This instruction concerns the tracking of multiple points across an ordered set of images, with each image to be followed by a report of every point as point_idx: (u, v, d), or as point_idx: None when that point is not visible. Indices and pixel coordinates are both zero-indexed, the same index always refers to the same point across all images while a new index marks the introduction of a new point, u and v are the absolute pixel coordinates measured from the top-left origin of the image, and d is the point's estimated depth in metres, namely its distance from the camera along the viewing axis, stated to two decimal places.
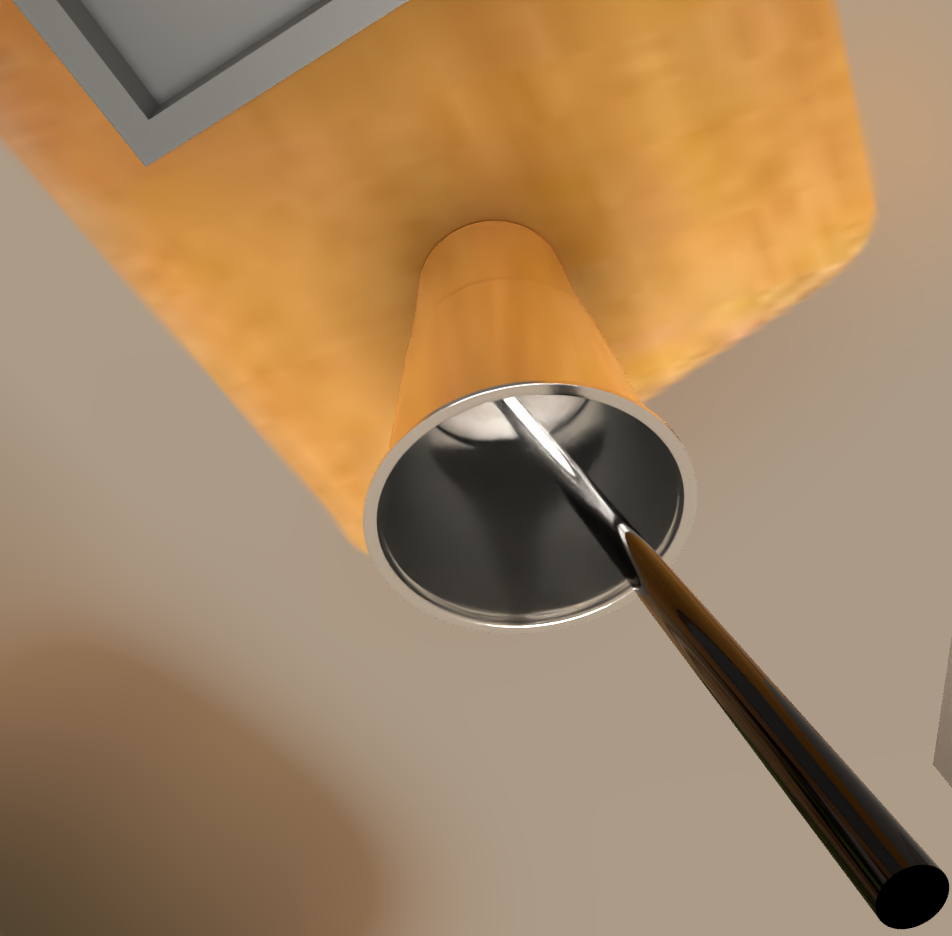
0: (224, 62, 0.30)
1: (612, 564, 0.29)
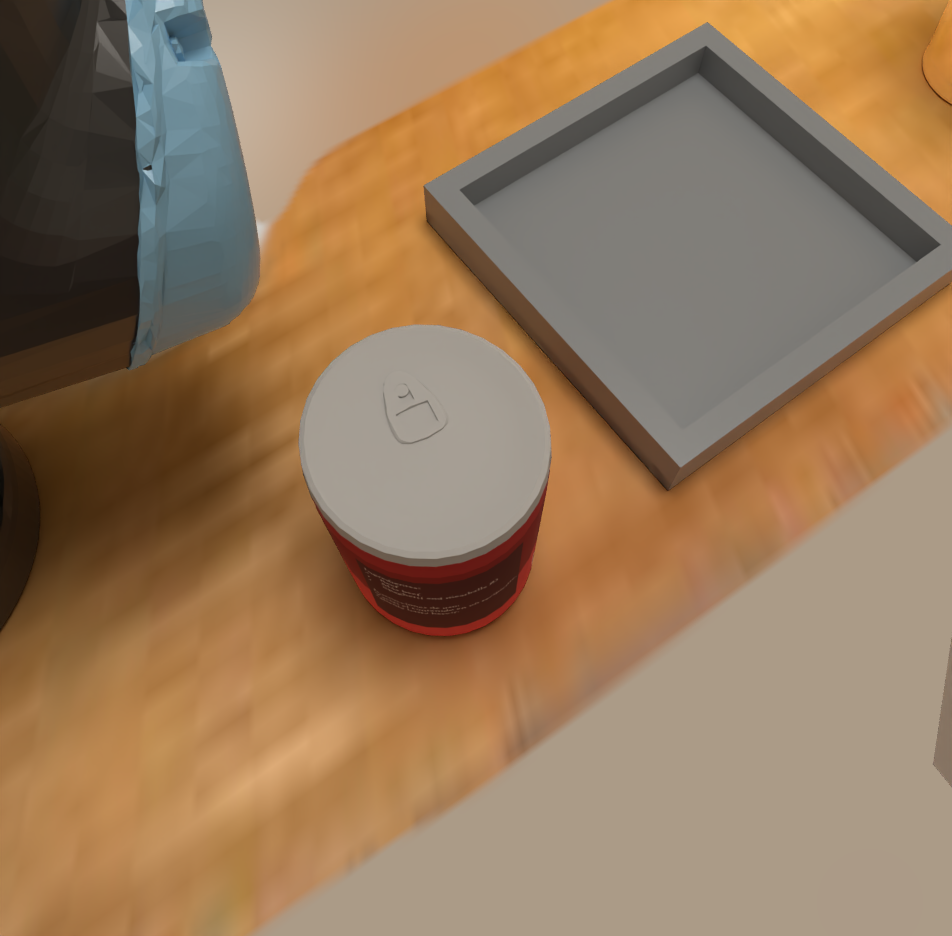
0: (875, 226, 0.41)
1: None
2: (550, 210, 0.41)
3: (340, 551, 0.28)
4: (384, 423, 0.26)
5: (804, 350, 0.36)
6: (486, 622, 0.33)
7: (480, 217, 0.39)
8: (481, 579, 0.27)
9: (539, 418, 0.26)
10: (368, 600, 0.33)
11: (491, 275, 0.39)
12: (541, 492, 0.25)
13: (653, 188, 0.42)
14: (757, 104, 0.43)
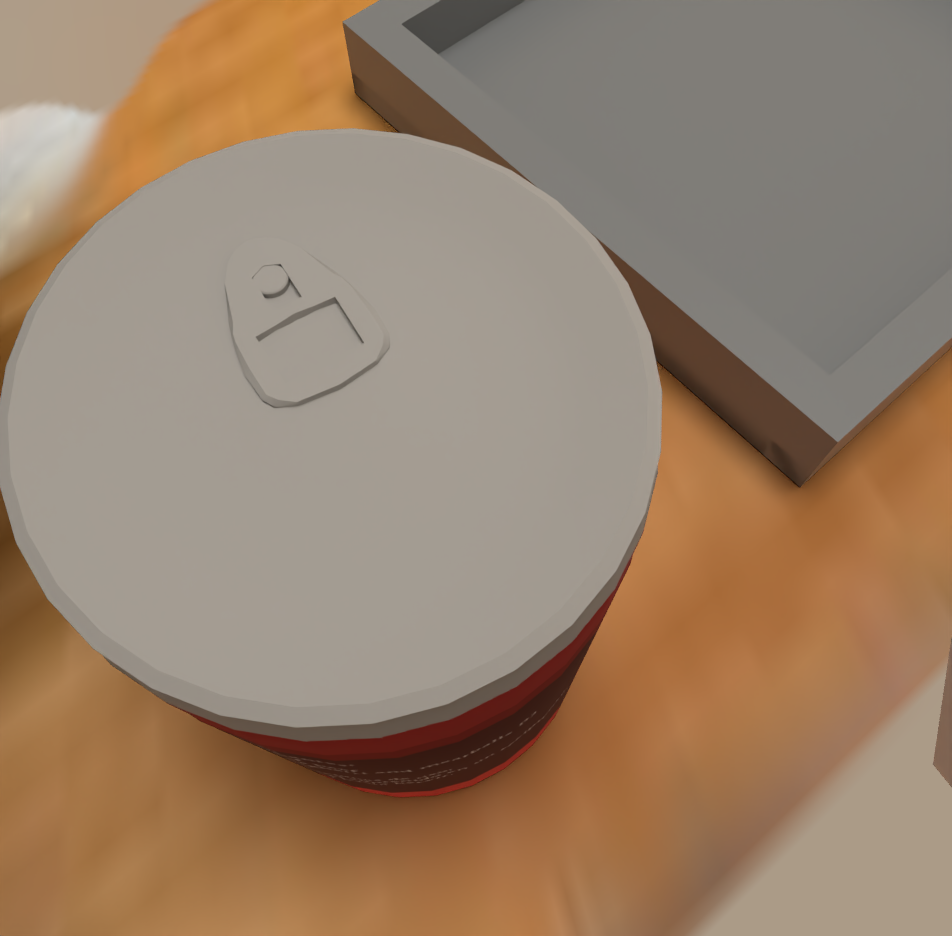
0: None
1: None
2: (549, 59, 0.26)
3: None
4: (228, 360, 0.10)
5: None
6: (507, 765, 0.17)
7: (438, 61, 0.24)
8: (501, 727, 0.11)
9: (622, 316, 0.10)
10: None
11: None
12: (647, 505, 0.09)
13: (706, 18, 0.27)
14: None
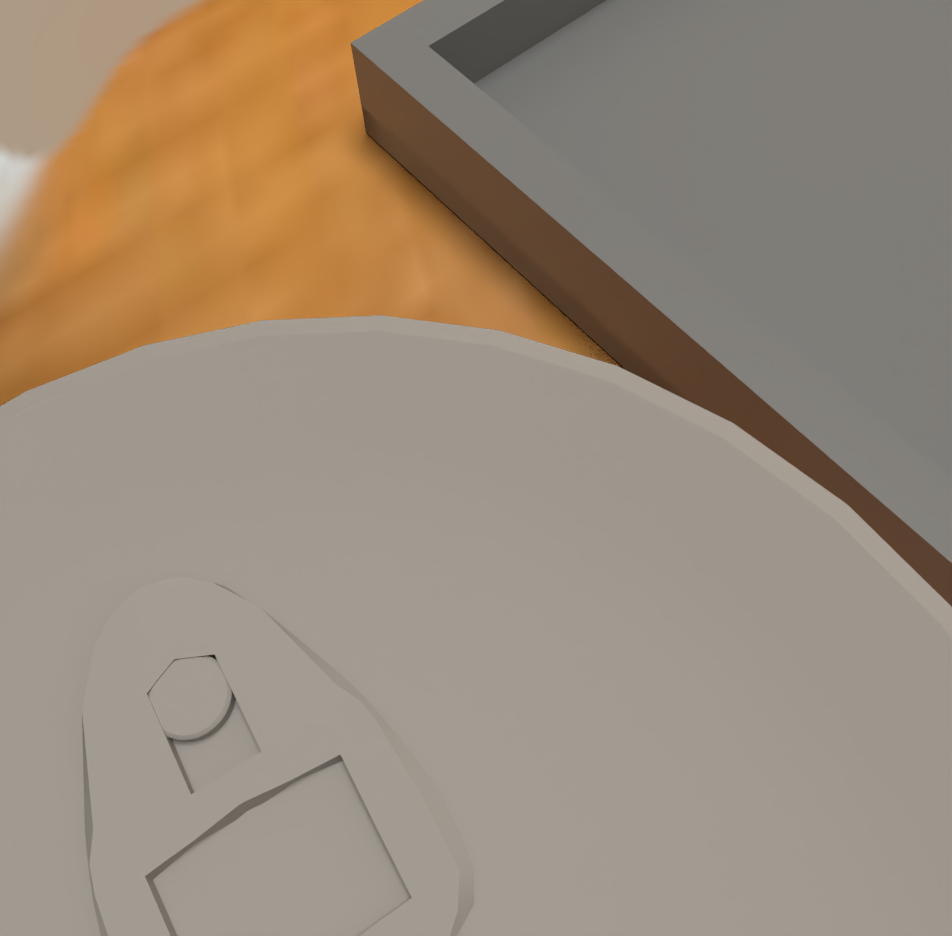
0: None
1: None
2: (619, 90, 0.20)
3: None
4: None
5: None
6: None
7: (479, 97, 0.18)
8: None
9: None
10: None
11: (512, 223, 0.18)
12: None
13: (820, 37, 0.21)
14: None
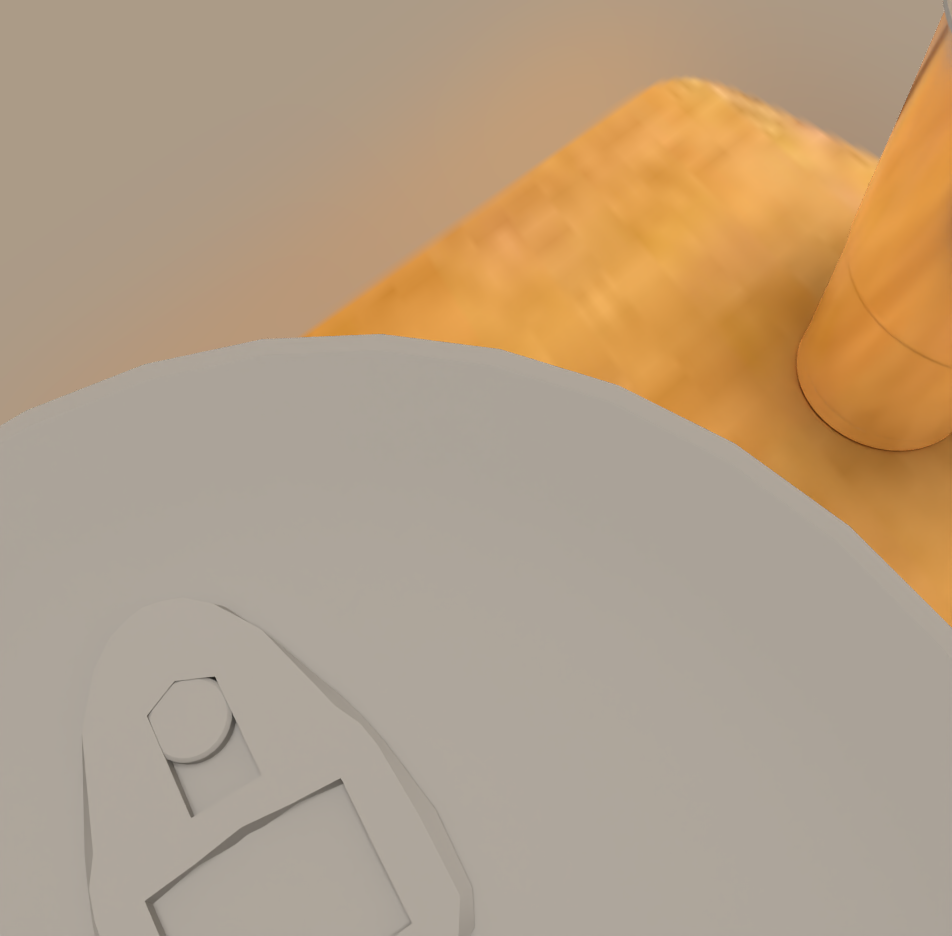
0: None
1: None
2: None
3: None
4: None
5: None
6: None
7: None
8: None
9: None
10: None
11: None
12: None
13: None
14: None
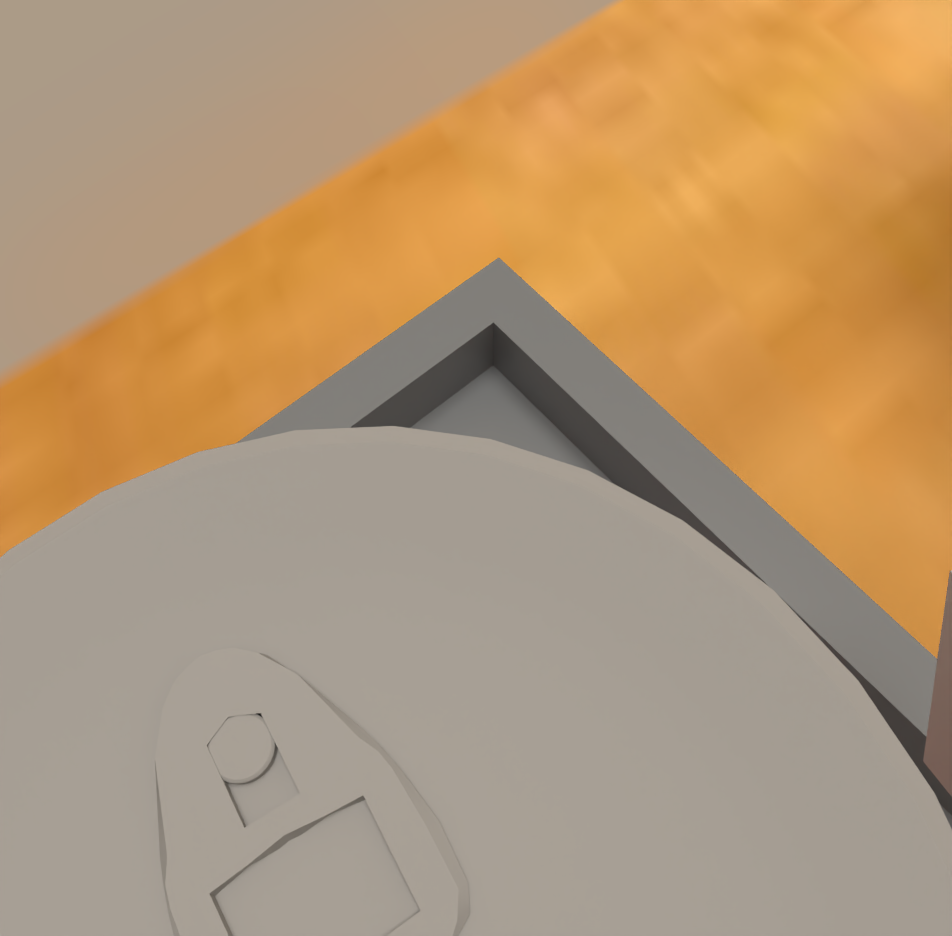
0: None
1: None
2: None
3: None
4: None
5: None
6: None
7: None
8: None
9: (939, 887, 0.05)
10: None
11: None
12: None
13: None
14: (625, 469, 0.17)
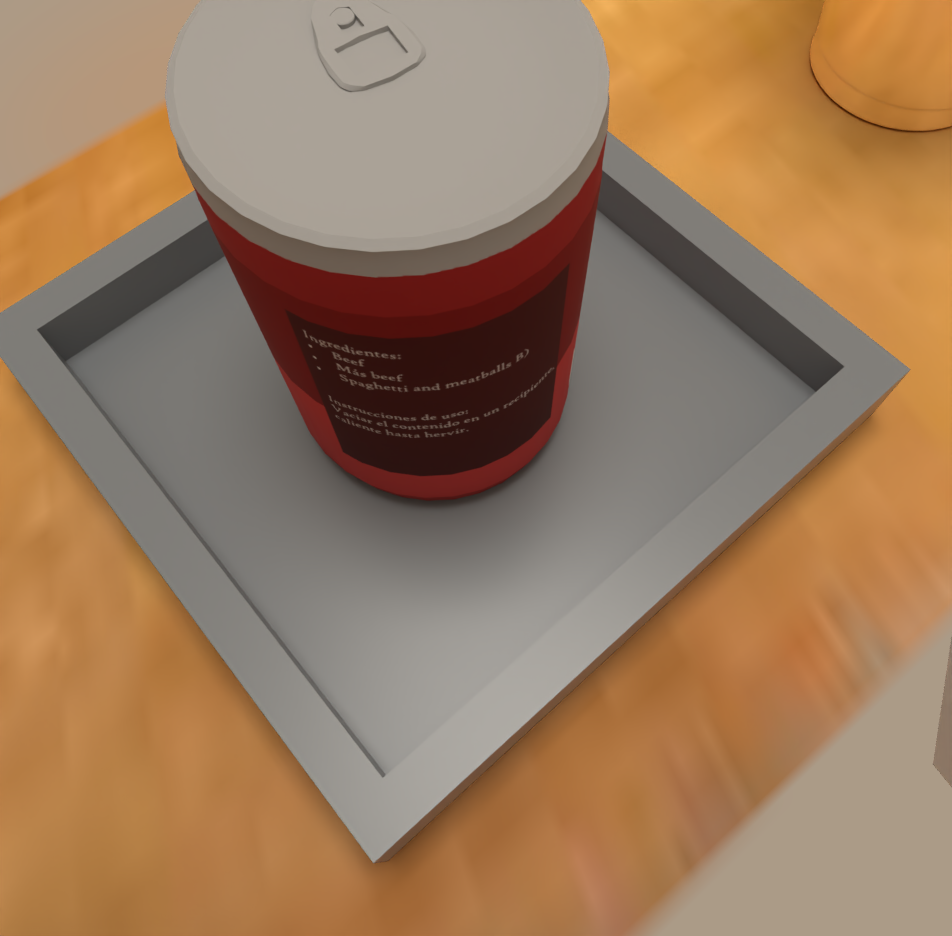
0: (742, 330, 0.25)
1: None
2: (213, 343, 0.25)
3: (267, 331, 0.17)
4: (315, 65, 0.15)
5: (610, 591, 0.20)
6: (509, 470, 0.22)
7: (65, 377, 0.23)
8: (503, 336, 0.16)
9: (583, 28, 0.15)
10: (330, 453, 0.22)
11: None
12: (599, 146, 0.14)
13: None
14: None
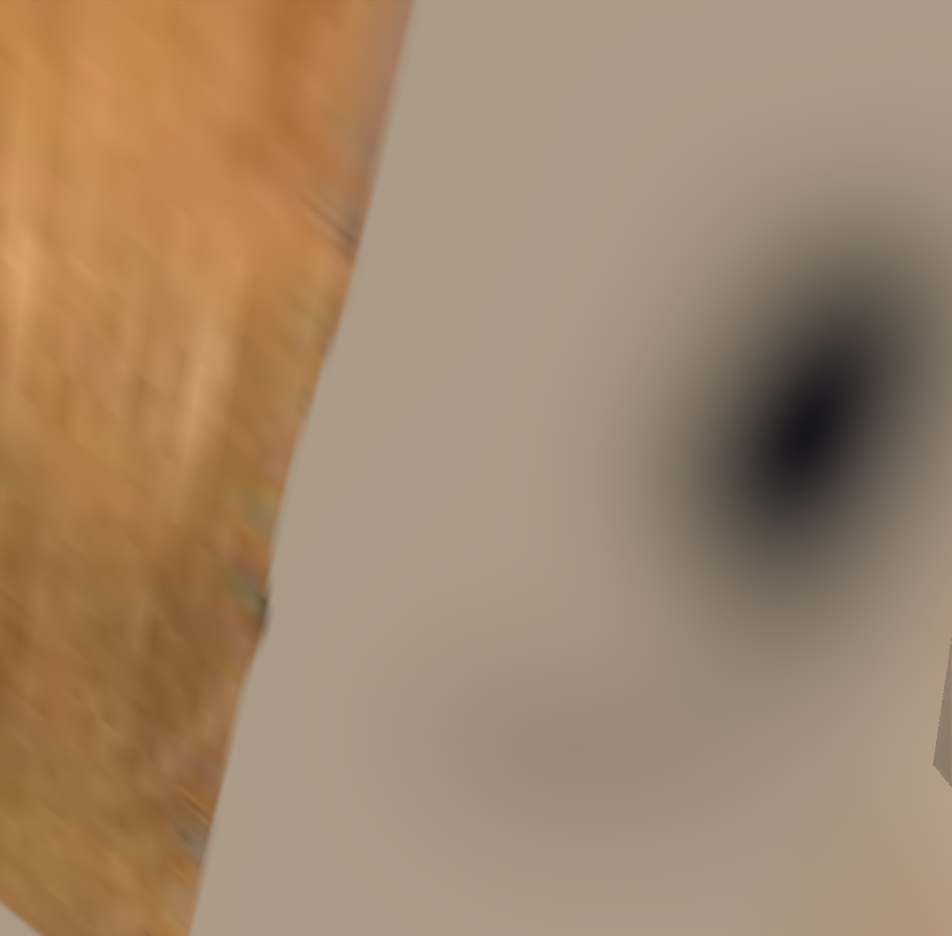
0: None
1: None
2: None
3: None
4: None
5: None
6: None
7: None
8: None
9: None
10: None
11: None
12: None
13: None
14: None
